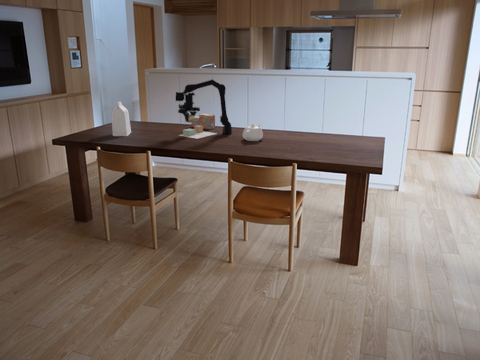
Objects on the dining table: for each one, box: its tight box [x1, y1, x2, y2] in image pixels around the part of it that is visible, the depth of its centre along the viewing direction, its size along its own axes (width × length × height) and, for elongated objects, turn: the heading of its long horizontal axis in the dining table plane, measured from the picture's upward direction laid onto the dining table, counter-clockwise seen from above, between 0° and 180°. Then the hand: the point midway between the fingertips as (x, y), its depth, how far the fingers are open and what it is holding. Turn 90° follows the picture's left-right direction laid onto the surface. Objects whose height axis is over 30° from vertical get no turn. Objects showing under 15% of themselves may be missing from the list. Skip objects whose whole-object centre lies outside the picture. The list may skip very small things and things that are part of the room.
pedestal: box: [182, 128, 196, 136], centre depth 329 cm, size 7×7×4 cm
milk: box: [111, 101, 132, 137], centre depth 330 cm, size 12×12×26 cm
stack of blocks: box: [190, 113, 216, 130], centre depth 356 cm, size 21×6×12 cm, turn 58°
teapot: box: [242, 123, 264, 142], centre depth 313 cm, size 25×16×12 cm, turn 153°
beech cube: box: [184, 114, 194, 124], centre depth 325 cm, size 5×5×5 cm
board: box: [178, 130, 218, 140], centre depth 330 cm, size 20×24×1 cm
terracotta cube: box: [193, 125, 204, 133], centre depth 338 cm, size 5×5×5 cm
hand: (189, 121), depth 326 cm, fingers closed on beech cube, 5 cm apart
